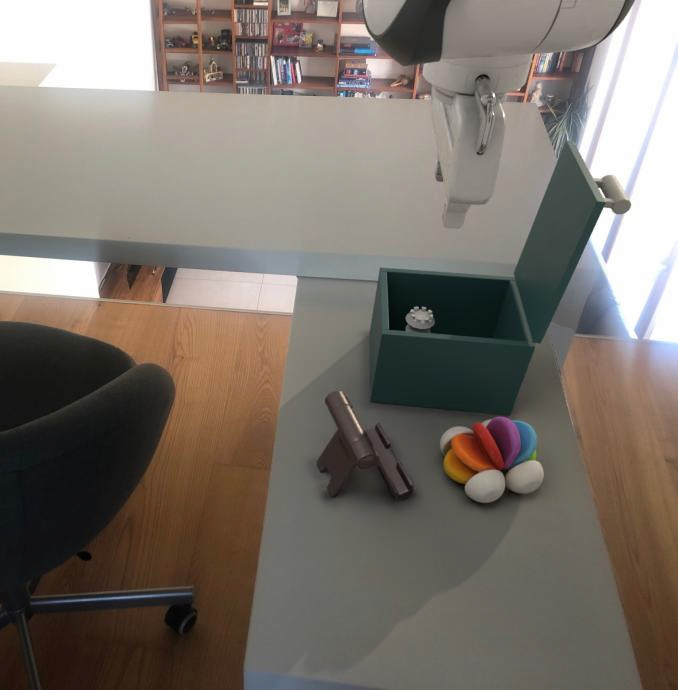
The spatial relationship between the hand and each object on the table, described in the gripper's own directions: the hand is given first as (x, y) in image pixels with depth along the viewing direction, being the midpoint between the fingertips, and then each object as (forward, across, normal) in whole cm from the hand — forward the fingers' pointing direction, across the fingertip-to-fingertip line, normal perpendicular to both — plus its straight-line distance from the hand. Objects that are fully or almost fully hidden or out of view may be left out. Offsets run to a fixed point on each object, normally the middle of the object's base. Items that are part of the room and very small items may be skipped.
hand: (447, 200), depth 69 cm
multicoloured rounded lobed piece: (+23, -15, -7) cm, 28 cm away
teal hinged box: (+23, 0, -3) cm, 23 cm away
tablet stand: (+23, -17, +6) cm, 29 cm away
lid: (+4, 0, -11) cm, 12 cm away
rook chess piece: (+22, 0, 0) cm, 22 cm away
